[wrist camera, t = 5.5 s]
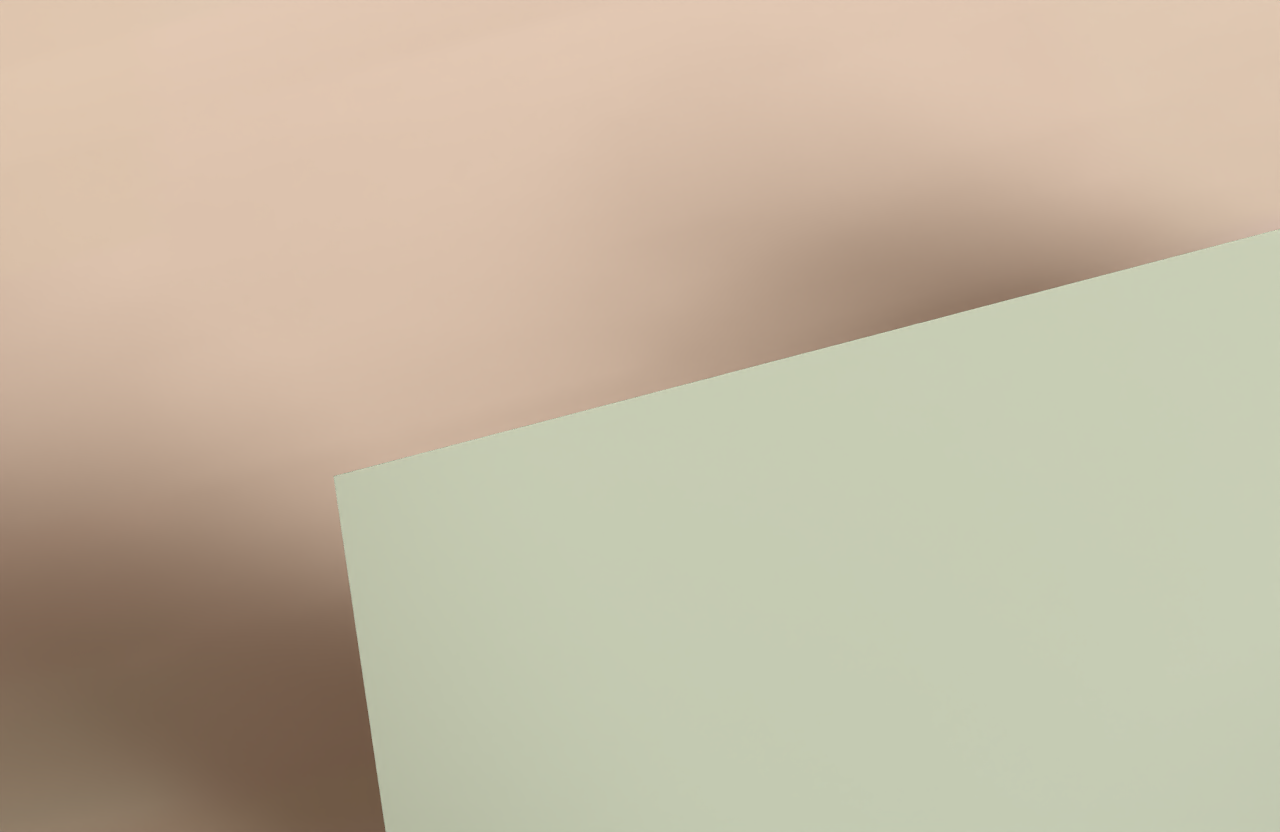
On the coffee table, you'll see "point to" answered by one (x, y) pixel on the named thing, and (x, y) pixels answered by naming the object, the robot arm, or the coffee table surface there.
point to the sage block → (857, 584)
